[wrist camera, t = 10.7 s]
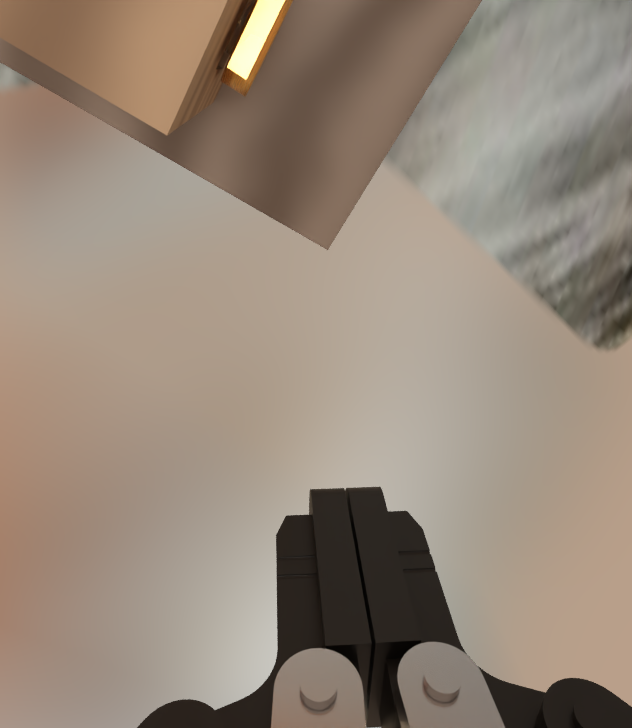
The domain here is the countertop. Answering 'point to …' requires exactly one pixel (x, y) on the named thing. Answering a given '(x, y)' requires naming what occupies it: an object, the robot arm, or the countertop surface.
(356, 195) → the hitch post
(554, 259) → the countertop surface
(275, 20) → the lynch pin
